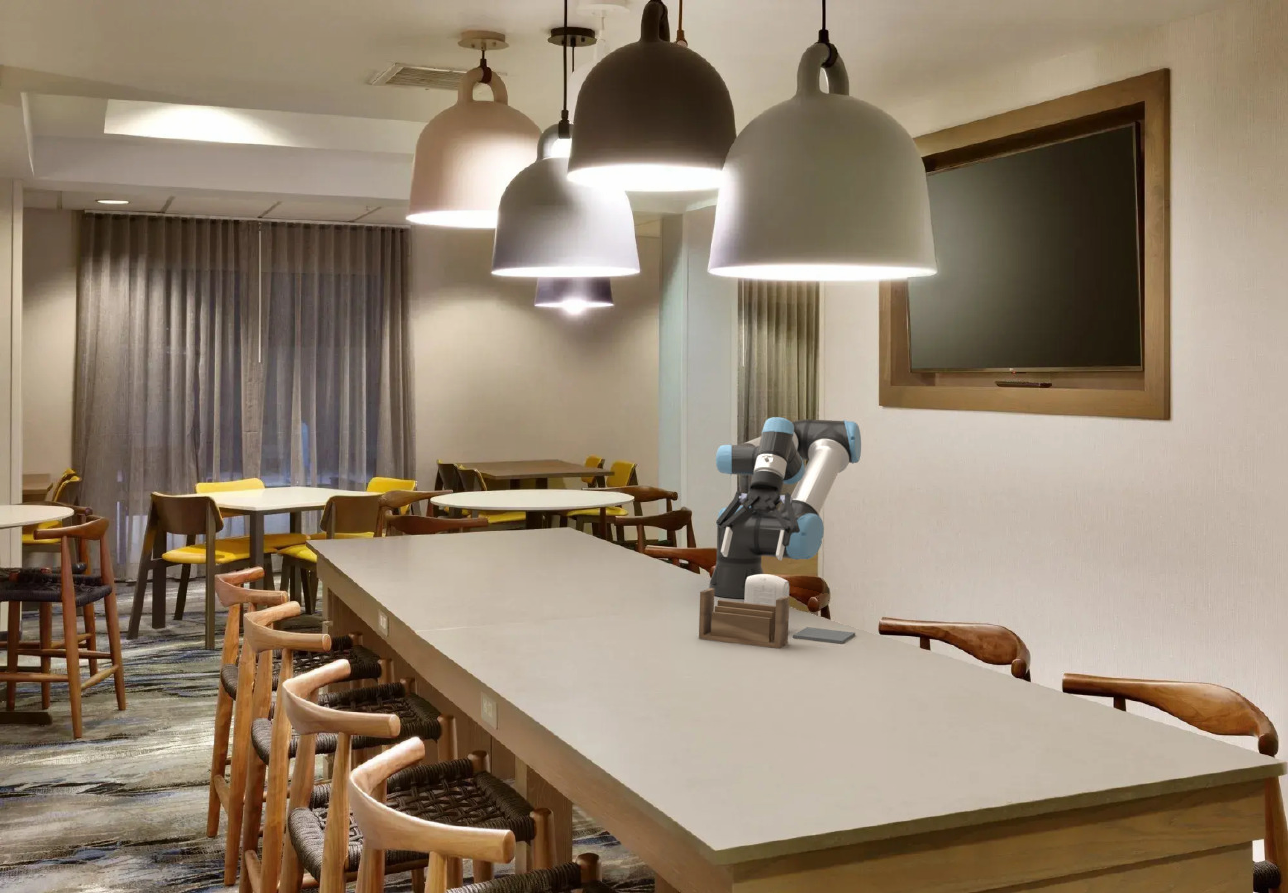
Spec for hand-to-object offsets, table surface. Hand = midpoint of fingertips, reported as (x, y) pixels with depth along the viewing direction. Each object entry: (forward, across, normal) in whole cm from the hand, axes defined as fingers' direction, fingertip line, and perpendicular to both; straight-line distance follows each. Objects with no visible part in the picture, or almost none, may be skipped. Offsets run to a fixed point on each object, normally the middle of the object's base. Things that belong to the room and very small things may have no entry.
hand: (751, 556), depth 280 cm
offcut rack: (+26, +8, -14) cm, 30 cm away
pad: (+19, +21, -2) cm, 29 cm away
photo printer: (+19, +8, -2) cm, 20 cm away
